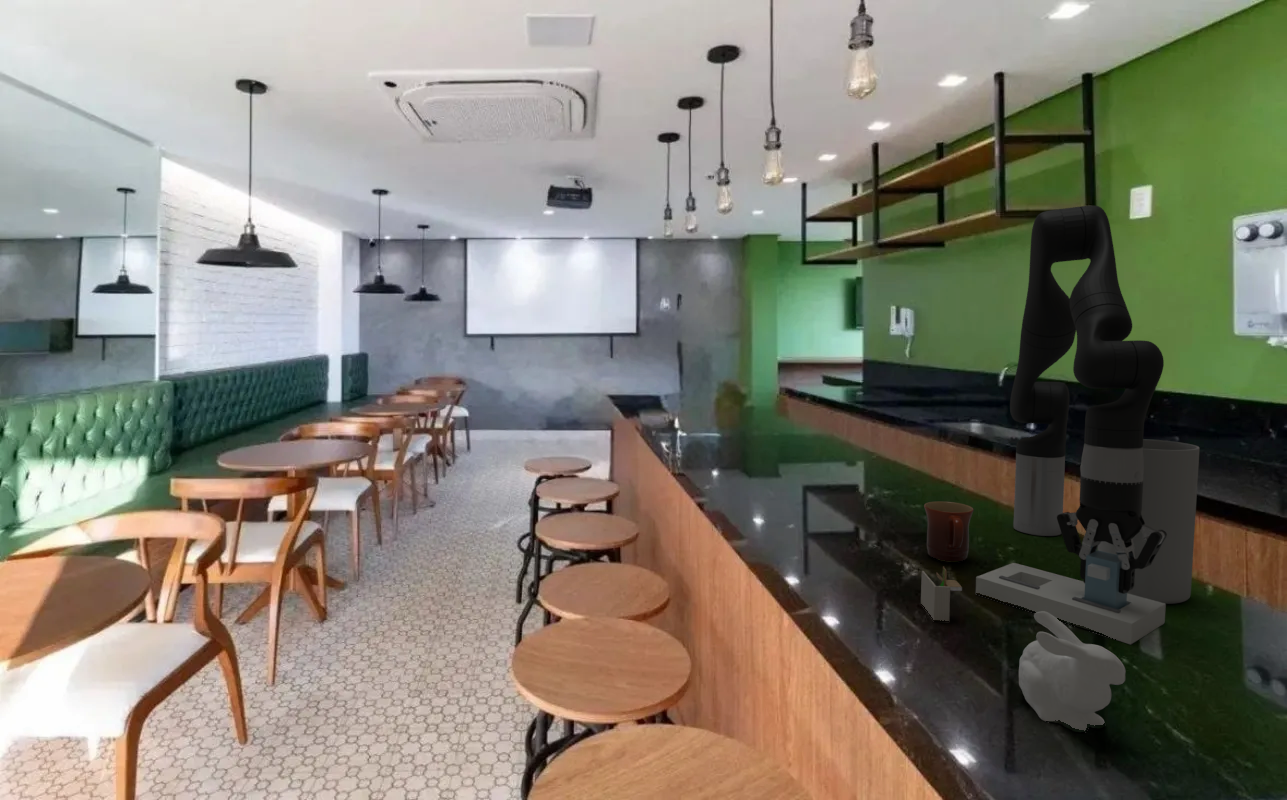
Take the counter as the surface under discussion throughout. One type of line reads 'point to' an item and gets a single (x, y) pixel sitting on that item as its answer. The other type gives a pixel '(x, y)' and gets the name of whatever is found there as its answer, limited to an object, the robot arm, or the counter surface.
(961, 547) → the mug
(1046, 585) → the port panel
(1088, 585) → the plug
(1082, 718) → the rabbit
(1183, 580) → the cylinder vase
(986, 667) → the counter surface
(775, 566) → the counter surface
